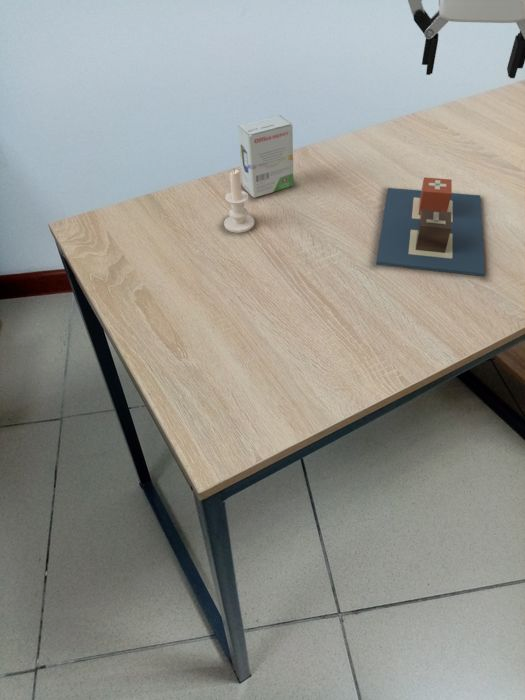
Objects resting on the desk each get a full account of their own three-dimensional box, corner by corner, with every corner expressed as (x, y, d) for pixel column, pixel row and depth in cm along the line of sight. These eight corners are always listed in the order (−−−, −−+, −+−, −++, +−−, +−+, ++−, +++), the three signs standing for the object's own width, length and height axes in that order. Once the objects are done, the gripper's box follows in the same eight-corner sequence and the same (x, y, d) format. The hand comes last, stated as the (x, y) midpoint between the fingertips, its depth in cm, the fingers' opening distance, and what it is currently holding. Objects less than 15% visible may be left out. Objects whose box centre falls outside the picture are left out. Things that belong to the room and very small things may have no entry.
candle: (219, 229, 91) (212, 173, 83) (232, 213, 94) (227, 158, 86) (246, 235, 89) (241, 179, 82) (259, 219, 92) (256, 163, 85)
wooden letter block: (445, 236, 85) (451, 211, 82) (445, 253, 82) (451, 228, 79) (416, 233, 86) (421, 208, 83) (415, 250, 83) (420, 225, 80)
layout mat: (479, 198, 94) (480, 194, 93) (483, 276, 79) (485, 272, 79) (387, 190, 97) (388, 187, 96) (375, 264, 82) (376, 260, 82)
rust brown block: (446, 203, 92) (451, 178, 88) (445, 217, 89) (451, 192, 86) (419, 200, 93) (424, 176, 89) (418, 214, 90) (423, 190, 86)
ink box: (253, 199, 97) (249, 136, 88) (241, 186, 100) (236, 124, 92) (294, 186, 99) (294, 123, 91) (281, 174, 102) (280, 112, 94)
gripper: (598, -118, 54) (541, 64, 66) (422, -113, 57) (400, 59, 70) (612, -106, 49) (547, 87, 61) (419, -102, 52) (395, 81, 65)
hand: (469, 72), depth 65 cm, fingers open, 9 cm apart
